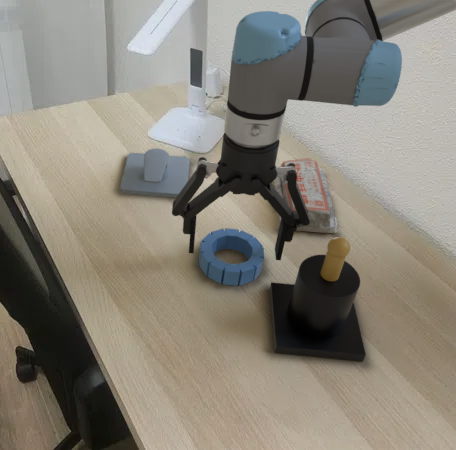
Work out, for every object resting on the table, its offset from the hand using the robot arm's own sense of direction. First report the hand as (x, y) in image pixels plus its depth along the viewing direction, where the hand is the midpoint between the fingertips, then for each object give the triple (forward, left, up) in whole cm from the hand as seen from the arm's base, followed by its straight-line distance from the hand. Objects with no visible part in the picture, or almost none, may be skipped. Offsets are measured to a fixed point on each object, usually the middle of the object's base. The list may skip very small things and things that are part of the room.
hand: (234, 251), depth 87 cm
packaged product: (-13, -18, -3) cm, 22 cm away
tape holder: (-12, +11, -3) cm, 16 cm away
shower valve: (+15, -21, -3) cm, 25 cm away
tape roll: (0, 0, -3) cm, 3 cm away
